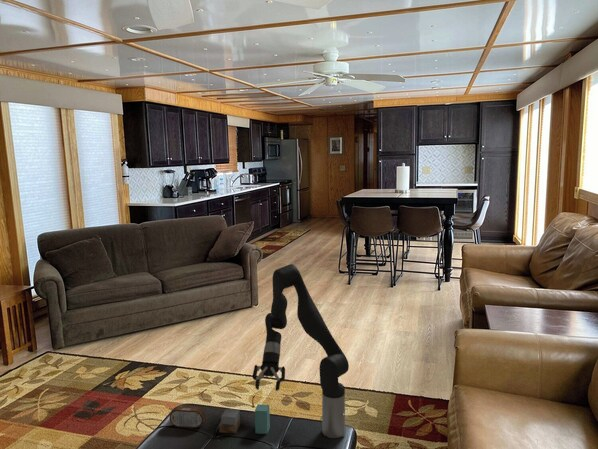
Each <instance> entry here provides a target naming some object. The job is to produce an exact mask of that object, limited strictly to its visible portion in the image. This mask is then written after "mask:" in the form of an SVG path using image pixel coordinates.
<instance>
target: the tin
mask: <svg viewBox="0 0 598 449" xmlns="http://www.w3.org/2000/svg"><path fill="white" fill-rule="evenodd" d="M205 420H206V414H205V412H204V411H203V409H201V408H199V407H197V406H194V407H193V406H179V405H178V406H175V407H173V408H172V410H171V412H170V414H169V421H170V423H171V425H173V426H174V427H177V428H190V429H196V428H197V429H198V428H201V426H202V425H203V424H204V422H205Z"/></svg>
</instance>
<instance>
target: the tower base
mask: <svg viewBox="0 0 598 449" xmlns="http://www.w3.org/2000/svg"><path fill="white" fill-rule="evenodd" d="M240 426H241V417H240V418H239V420H238V422H237V423H236V425H226V424H221V422H220V423H219V428H218V429H219V433H227V434H237V432H238V430H239V428H240Z"/></svg>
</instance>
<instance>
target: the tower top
mask: <svg viewBox="0 0 598 449" xmlns="http://www.w3.org/2000/svg"><path fill="white" fill-rule="evenodd" d="M239 418H240V419H241V411H240V409H233V408H225V410H224V411H223V413H222V414H221V416H220V419H221V420H220V423H221V424H226V425H236V423H237V422H238V420H239Z"/></svg>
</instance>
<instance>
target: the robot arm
mask: <svg viewBox="0 0 598 449" xmlns="http://www.w3.org/2000/svg"><path fill="white" fill-rule="evenodd" d="M292 287H293V288H295V291H296V294H297V309H296V312H297V319H298V321H299V323H300V325H301V327H302V330H304V333H305V334H307V335H308V336H309V337H310V338H312V339H313V340H314V341H315V342H317V343H318V344H319V345H320V346H321V347H322V349H323V350H324V352H325V354H326V357H323V358H322V359H321V360H320V363H319V368H318V370H319V385H320V389H321V390H322V391H321V396H322V398H321V399H322V401H321V402H322V403H321V404H322V405H321V406H322V408H321V409H322V411H321V412H322V418H321V419H322V422H321V424H322V427H321V428H322V432H321V433H322V434H323V435H324V437H326V436H327V437H326V438H329V439H339V438H342V437H343V438H344V437H345V435H346V434H345V433H346V431H345V430H346V407H345V406H346V404H345V403H346V402H345V400H346V398H345V396H346V388H345V385H344V384H343V383H341V382H339V378H340V377H341V376H343V375H345V374H346V373H347V372H348V371H349V367H350V365H349V361H348V358H347V356H346V355H345V353H344V352H343V350H342V348H341V347H340V346H339V344H338V342H337V341H336V340H335V338H334V336H333V335H332V333H331V332H330V329H329V328H328V326H327V324H326V322H325V320H324V318H323V317H322V315H321V313H320V311H319V309H318V307H317V306H316V304H315V302H314V299H313V298H312V296H311V295H310V292H309V290H308V288H307V286H306V284H305V281H304V279H303V276H302V274H301V272H300V269H299V268H297V266H296V265H295V264H292V263H289V264H287V265H285V266H281V267H278V268H277V269H275V270H274V271H273V273H272V303H271V307H270V312H268V313H267V314H266V315H265V318H264V323H265V330H266V336H265V343H264V344H265V345H264V348H263V356H262V362H261V365H258V364H254V366H253V373H252V379H253V380H254V381H255V390H256V391H259V390H260V383H261V382H260V381H261V379H263V378H264V377H265V378H266V377H267V378H268V377H270V378H274V377H275V380H276V383H275V392H278V391H279V390H280V389H281V388H280V387H281V383H282V382H283V383H284V382H285V380H286V368H285V366H280V358H281V344H282V343H281V342H282V334H281V333H280V332H279V331H277V330H284V329H285V328H286V327H287V326H288V319H287V308H288V298H287V296H286V295H285V294H284V293H283V292H284V290H285V289H289V288H292ZM274 329H275V330H274ZM260 370H261V371H260ZM259 371H260V372H259ZM279 371H280V373H281V377H279V376H278V374H277V373H278V372H279ZM258 372H259V374H258Z"/></svg>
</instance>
